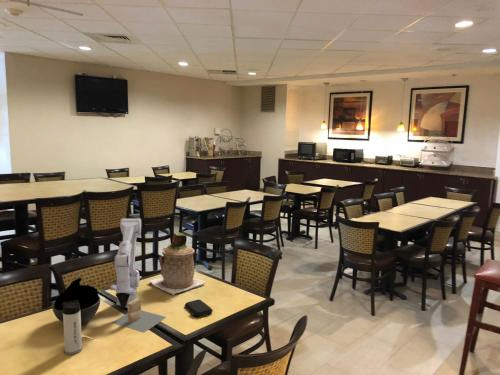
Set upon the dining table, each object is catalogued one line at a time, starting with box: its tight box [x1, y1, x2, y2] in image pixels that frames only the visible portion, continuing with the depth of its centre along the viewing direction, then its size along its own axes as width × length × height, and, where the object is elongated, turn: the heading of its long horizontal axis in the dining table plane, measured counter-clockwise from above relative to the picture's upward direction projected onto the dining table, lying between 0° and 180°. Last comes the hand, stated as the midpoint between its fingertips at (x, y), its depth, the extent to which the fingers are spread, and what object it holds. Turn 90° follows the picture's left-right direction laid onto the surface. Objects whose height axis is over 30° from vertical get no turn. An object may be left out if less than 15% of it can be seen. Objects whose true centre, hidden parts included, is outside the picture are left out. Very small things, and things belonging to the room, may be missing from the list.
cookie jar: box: [148, 231, 206, 296], centre depth 218 cm, size 25×25×32 cm
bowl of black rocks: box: [51, 277, 101, 325], centre depth 172 cm, size 20×20×19 cm
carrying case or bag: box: [184, 299, 214, 318], centre depth 188 cm, size 11×3×15 cm
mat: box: [111, 309, 167, 334], centre depth 176 cm, size 19×16×1 cm
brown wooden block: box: [127, 298, 142, 323], centre depth 176 cm, size 3×6×9 cm, turn 155°
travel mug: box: [62, 301, 83, 356], centre depth 150 cm, size 6×7×20 cm
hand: (123, 306), depth 178 cm, fingers closed
